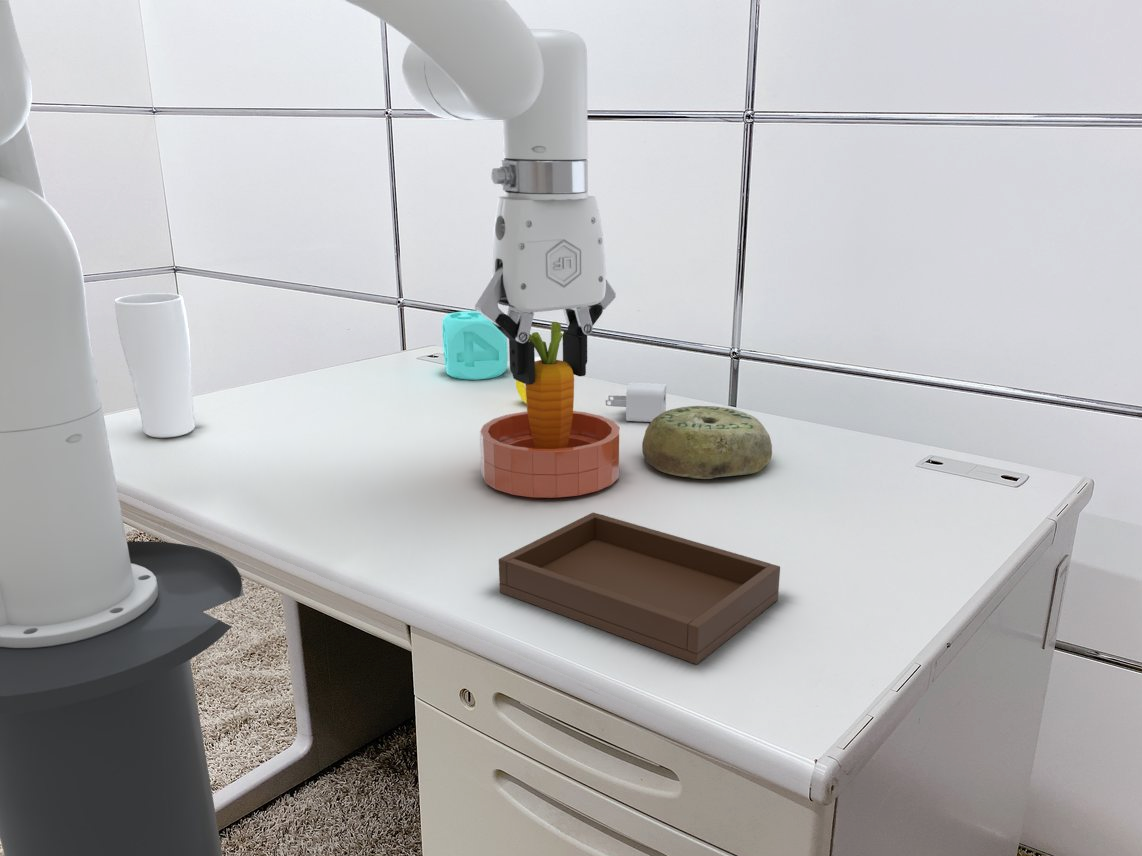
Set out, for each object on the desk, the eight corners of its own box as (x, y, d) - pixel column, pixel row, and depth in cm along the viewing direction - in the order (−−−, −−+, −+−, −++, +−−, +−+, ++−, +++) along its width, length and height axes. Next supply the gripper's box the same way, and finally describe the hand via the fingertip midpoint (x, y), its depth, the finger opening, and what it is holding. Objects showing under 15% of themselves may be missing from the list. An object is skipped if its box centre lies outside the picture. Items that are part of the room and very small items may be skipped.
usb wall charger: (662, 424, 115) (663, 391, 114) (604, 421, 116) (604, 388, 114) (665, 414, 119) (666, 382, 117) (609, 411, 120) (609, 380, 118)
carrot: (539, 484, 94) (536, 331, 89) (517, 469, 98) (513, 322, 93) (584, 476, 97) (584, 326, 92) (561, 461, 101) (559, 317, 96)
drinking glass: (128, 431, 110) (104, 297, 104) (190, 419, 114) (170, 290, 109) (148, 445, 105) (124, 306, 100) (212, 433, 109) (192, 299, 104)
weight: (778, 448, 107) (781, 404, 106) (760, 490, 95) (763, 441, 93) (659, 436, 111) (660, 394, 109) (627, 475, 98) (627, 428, 97)
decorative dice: (508, 378, 134) (506, 320, 131) (449, 381, 132) (446, 322, 129) (500, 364, 141) (498, 309, 139) (444, 367, 139) (440, 311, 136)
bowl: (525, 512, 89) (524, 460, 87) (459, 470, 99) (456, 423, 97) (646, 483, 96) (646, 435, 95) (572, 447, 107) (572, 403, 105)
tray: (499, 592, 74) (498, 558, 73) (593, 542, 83) (592, 511, 82) (696, 664, 64) (698, 627, 64) (778, 599, 73) (780, 566, 72)
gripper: (480, 185, 80) (488, 399, 87) (646, 181, 90) (643, 373, 96) (440, 180, 86) (451, 381, 92) (601, 176, 95) (601, 358, 102)
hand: (549, 375), depth 94 cm, fingers closed on carrot, 5 cm apart
